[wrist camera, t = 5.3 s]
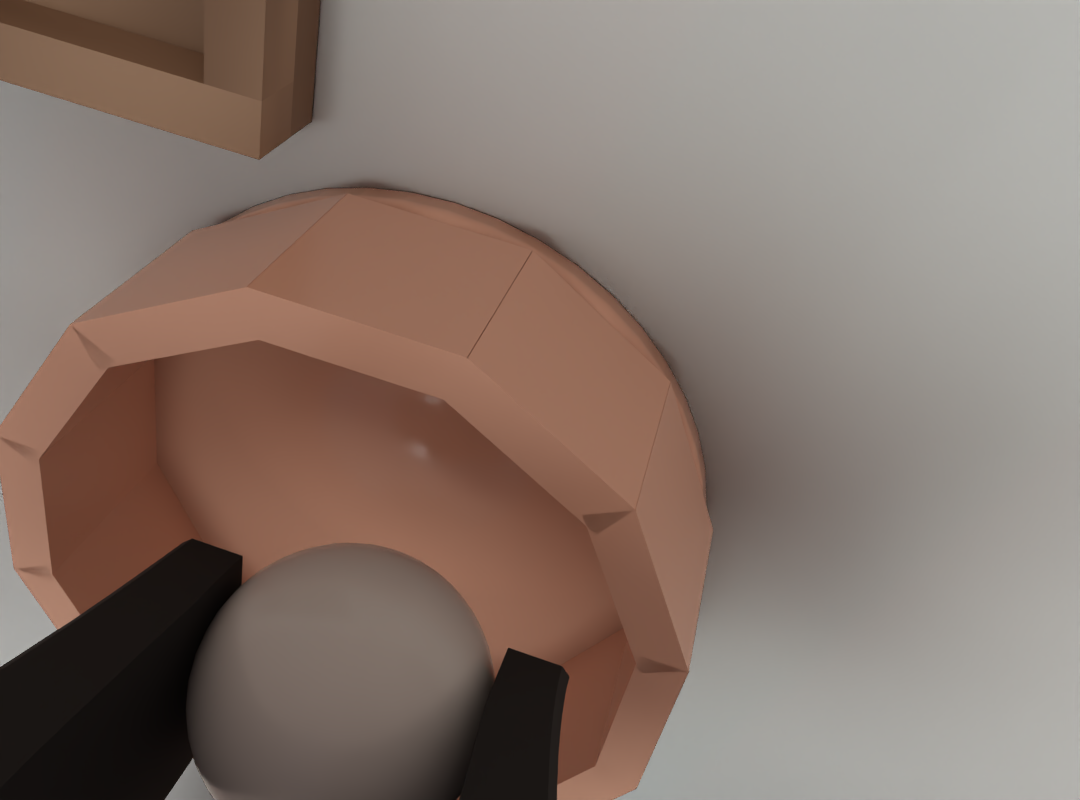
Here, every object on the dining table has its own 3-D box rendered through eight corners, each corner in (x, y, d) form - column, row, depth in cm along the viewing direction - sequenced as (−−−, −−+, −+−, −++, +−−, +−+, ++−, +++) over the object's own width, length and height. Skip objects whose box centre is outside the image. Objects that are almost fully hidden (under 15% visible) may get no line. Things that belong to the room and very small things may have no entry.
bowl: (148, 576, 19) (35, 713, 16) (131, 103, 13) (-41, 194, 11) (619, 741, 18) (580, 913, 15) (798, 307, 13) (784, 459, 10)
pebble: (270, 636, 13) (127, 857, 11) (280, 447, 11) (112, 660, 9) (503, 716, 13) (416, 966, 10) (553, 537, 11) (461, 785, 8)
